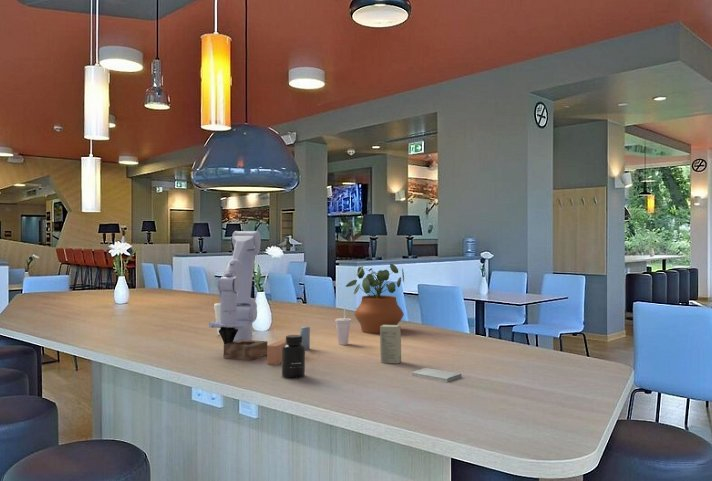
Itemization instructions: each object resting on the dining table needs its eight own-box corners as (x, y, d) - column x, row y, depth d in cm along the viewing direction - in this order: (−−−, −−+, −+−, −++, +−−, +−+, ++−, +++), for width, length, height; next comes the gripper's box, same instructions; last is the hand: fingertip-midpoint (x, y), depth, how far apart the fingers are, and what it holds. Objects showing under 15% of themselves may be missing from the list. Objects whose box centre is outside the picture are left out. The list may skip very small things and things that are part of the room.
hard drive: (461, 373, 169) (426, 367, 177) (447, 378, 163) (411, 371, 171) (461, 379, 169) (426, 372, 177) (447, 384, 163) (411, 377, 171)
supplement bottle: (295, 380, 164) (295, 338, 164) (277, 377, 168) (277, 336, 168) (309, 375, 170) (309, 335, 170) (291, 372, 174) (291, 333, 174)
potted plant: (385, 336, 238) (385, 265, 238) (333, 330, 255) (333, 263, 255) (413, 330, 257) (413, 263, 257) (362, 324, 274) (363, 262, 274)
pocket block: (223, 357, 194) (223, 344, 194) (240, 351, 205) (240, 339, 205) (252, 360, 191) (252, 346, 191) (267, 354, 201) (267, 341, 201)
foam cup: (241, 333, 244) (241, 303, 244) (225, 336, 236) (225, 305, 236) (225, 331, 249) (225, 302, 249) (209, 334, 241) (209, 304, 241)
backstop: (267, 364, 185) (267, 345, 185) (290, 353, 202) (291, 336, 202) (275, 364, 184) (275, 346, 184) (298, 354, 201) (298, 337, 201)
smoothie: (349, 345, 218) (349, 309, 218) (333, 345, 219) (333, 308, 219) (352, 343, 224) (353, 307, 224) (336, 342, 225) (337, 307, 225)
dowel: (298, 349, 210) (298, 327, 210) (302, 347, 213) (302, 326, 213) (307, 350, 209) (307, 328, 209) (311, 348, 212) (311, 326, 212)
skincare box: (401, 361, 190) (401, 325, 190) (398, 364, 186) (398, 326, 186) (383, 360, 192) (383, 323, 192) (379, 362, 188) (379, 325, 188)
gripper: (204, 310, 199) (204, 349, 199) (240, 312, 194) (240, 352, 194) (215, 308, 205) (215, 346, 205) (251, 310, 201) (250, 348, 201)
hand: (228, 349), depth 200 cm, fingers closed
